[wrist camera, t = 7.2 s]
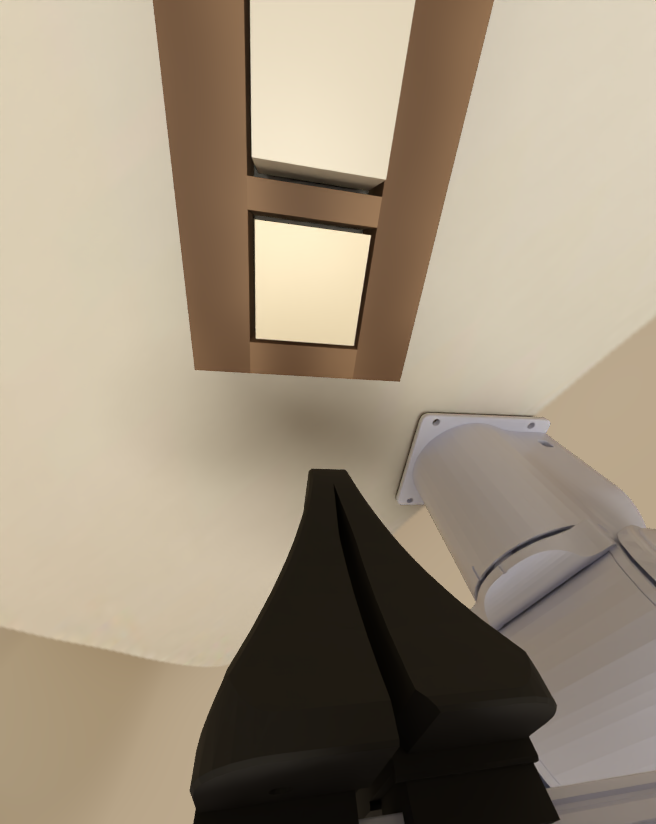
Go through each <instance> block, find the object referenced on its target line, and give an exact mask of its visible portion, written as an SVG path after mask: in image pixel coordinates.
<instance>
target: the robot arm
mask: <svg viewBox="0 0 656 824" xmlns="http://www.w3.org/2000/svg"><path fill="white" fill-rule="evenodd" d="M435 419H438V420H437V421H436V422H434V423H433V421H434V420H435ZM549 426H550V421H549V420H548V419H546V418H544V417H520V416H495V415H470V414H445V413H426V414H424V415H422V416H421V418H420V420H419V424H418V427H417V430H416V434H415V437H414V440H413V444H412V447H411V450H410V453H409V457H408V460H407V463H406V467H405V470H404V473H403V476H402V480H401V483H400V486H399V490H398V493H397V496H396V500H397V502H398V504H400V505H425V506H426V508H427V509H428V511H429V513H430V515H431V517H432V519H433V521H434V523H435V525H436V527H437V529H438V530H439V532H440V534H441V536H442V538H443V540H444V542H445V544H446V546H447V547H448V549H449V551H450V553H451V555H452V557H453V559H454V561H455V563H456V565H457V566H458V568H459V570H460V572H461V574H462V576H463V578H464V580H465V582H466V584H467V586H468V587H469V589H470V591H471V593H472V595H473V597H474V599H475V601H476V603H475V605H474V606H473V607H472V608H471V609H468V608H467V607H466V606H465V605H463V604H462V603H461V602H460V601H459V600H457V599H456V598H455V597H454V596H453V595H452V594H450V593H449V592H448V591H447V590H446V589H445V588H444V587H443V586H442V585H440V584H439V583H438V582H437V581H436V580H435V579H434V578H433V577H431V575H429V574H428V573H427V572H426V571H425V570H424V569H423V568H422V567H421V566H420V565H419V564H418V563H417V562H416V561H415V560H414V559H413V558H412V557H411V556H410V555H409V554H408V552H407V551H406V550H405V549H404V548H403V547H402V546H401V545H400V544H399V543H398V541H397V540H396V539H395V538H394V537H393V535H392V534H391V533H390V532H389V531H388V529H387V528H386V527H385V526H384V524H383V523H382V522H381V521H380V519H379V518H378V517H377V515H376V514H375V513H374V511H373V510H372V509H371V507H370V506H369V505H368V503H367V502H366V500H365V499H364V497H363V496H362V494H361V493H360V491H359V490H358V488H357V487H356V485H355V484H354V482H353V481H352V479H351V477H350V476H349V474H348V473H347V471H346V470H336V469H311V470H310V471H309V473H308V481H307V489H306V496H305V504H304V512H303V516H302V519H301V522H300V525H299V528H298V531H297V534H296V537H295V539H294V542H293V545H292V547H291V550H290V552H289V554H288V557H287V559H286V562H285V564H284V566H283V568H282V570H281V573H280V575H279V577H278V579H277V581H276V583H275V585H274V587H273V589H272V591H271V593H270V595H269V597H268V599H267V601H266V603H265V605H264V607H263V608H262V610H261V612H260V614H259V616H258V618H257V620H256V622H255V623H254V625H253V627H252V629H251V630H250V632H249V634H248V636H247V637H246V639H245V641H244V642H243V644H242V646H241V647H240V649H239V651H238V652H237V654H236V656H235V657H234V659H233V661H232V662H231V664H230V666H229V667H228V669H227V671H226V674H225V676H224V679H223V681H222V684H221V686H220V688H219V690H218V692H217V695H216V697H215V699H214V702H213V704H212V707H211V709H210V711H209V714H208V716H207V719H206V721H205V724H204V727H203V729H202V732H201V736H200V739H199V743H198V747H197V750H196V756H195V762H194V768H193V775H192V781H191V786H190V793H191V796H192V798H193V801H194V804H195V807H196V811H195V818H194V823H193V824H656V529H650V528H646V526H645V523H644V521H643V519H642V516H641V514H640V513H639V511H638V509H637V507H636V506H635V505H634V503H633V502H632V501H631V499H630V498H629V497H628V496H627V495H626V494H625V493H624V492H623V491H622V490H621V489H620V488H618V487H617V486H616V485H615V484H613V483H612V482H611V481H609V480H608V479H606V478H605V477H604V476H602V475H601V474H600V473H598V472H597V471H596V470H594V469H593V468H592V467H590V466H589V465H587V464H586V463H585V462H583V461H582V460H581V459H579V458H578V457H577V456H575V455H574V454H573V453H571V452H570V451H569V450H567V449H566V448H565V447H563V446H562V445H561V444H559V443H558V442H556V441H555V440H554V439H552V438H551V437H550V436H548V435H547V434H546V432H547V430H548V428H549ZM409 498H410V499H409Z"/></svg>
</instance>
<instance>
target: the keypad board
mask: <svg viewBox="0 0 656 824" xmlns="http://www.w3.org/2000/svg"><path fill="white" fill-rule="evenodd" d="M493 2H494V0H415V6H414V12H413V19H412V25H411V31H410V37H409V43H408V49H407V55H406V61H405V67H404V73H403V79H402V86H401V92H400V98H399V104H398V110H397V116H396V122H395V128H394V134H393V140H392V146H391V153H390V159H389V165H388V171H387V177H386V180H385V181H383V182H382V183H380V184H379V185H377V186H375V187H374V188H372V189H371V190H369V194H368V195H366V194H360V193H354V192H347V191H341V190H335V189H328V188H322V187H316V186H309V185H303V184H297V183H290V182H284V181H278V180H271V179H265V178H259V177H254V161H253V159H252V139H251V48H250V0H153V6H154V15H155V23H156V32H157V41H158V50H159V59H160V67H161V76H162V85H163V94H164V103H165V111H166V120H167V129H168V138H169V147H170V155H171V164H172V173H173V182H174V191H175V199H176V208H177V217H178V226H179V235H180V243H181V252H182V261H183V270H184V279H185V287H186V296H187V305H188V314H189V322H190V331H191V340H192V349H193V358H194V366H195V370H207V371H224V372H242V373H259V374H277V375H294V376H312V377H329V378H347V379H364V380H382V381H399V382H400V378H401V374H402V370H403V366H404V362H405V358H406V354H407V350H408V346H409V342H410V338H411V334H412V330H413V326H414V322H415V318H416V314H417V310H418V306H419V302H420V298H421V294H422V289H423V285H424V281H425V277H426V273H427V269H428V265H429V261H430V257H431V253H432V249H433V245H434V241H435V237H436V233H437V229H438V225H439V221H440V217H441V213H442V209H443V205H444V200H445V196H446V192H447V188H448V184H449V180H450V176H451V172H452V168H453V164H454V160H455V156H456V152H457V148H458V144H459V140H460V136H461V132H462V128H463V124H464V120H465V115H466V111H467V107H468V103H469V99H470V95H471V91H472V87H473V83H474V79H475V75H476V71H477V67H478V63H479V59H480V55H481V51H482V47H483V43H484V39H485V35H486V31H487V26H488V22H489V18H490V14H491V10H492V6H493ZM254 215H259V216H266V217H273V218H281V219H288V220H295V221H302V222H309V223H317V224H324V225H331V226H338V227H345V228H353V229H360V230H363V234H365V235H371V238H370V245H369V251H368V258H367V264H366V270H365V277H364V283H363V290H362V296H361V303H360V309H359V315H358V322H357V328H356V335H355V341H354V346H349V345H336V344H323V343H309V342H296V341H283V340H269V339H256V328H255V266H254Z"/></svg>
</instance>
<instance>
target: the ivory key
mask: <svg viewBox="0 0 656 824" xmlns="http://www.w3.org/2000/svg"><path fill="white" fill-rule="evenodd" d="M414 6H415V0H250V48H251V139H252V159H253V161H254V164H255V166H256V169H257V171H258V173H261V174H267V175H273V176H279V177H285V178H292V179H298V180H304V181H310V182H317V183H323V184H329V185H335V186H341V187H348V188H354V189H360V190H366V191H369V190H371V189H372V188H374V187H375V186H377V185H379V184H380V183H382V182H383V181H385V180H386V177H387V171H388V165H389V159H390V153H391V146H392V140H393V134H394V128H395V122H396V116H397V110H398V104H399V98H400V92H401V86H402V79H403V73H404V67H405V61H406V55H407V49H408V43H409V37H410V31H411V25H412V19H413V12H414Z"/></svg>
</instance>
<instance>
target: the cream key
mask: <svg viewBox="0 0 656 824" xmlns="http://www.w3.org/2000/svg"><path fill="white" fill-rule="evenodd" d="M370 238H371V235H365V234H358V233H351V232H343V231H336V230H329V229H321V228H314V227H307V226H299V225H292V224H285V223H277V222H270V221H263V220H255V303H256V339H269V340H283V341H296V342H309V343H323V344H336V345H349V346H354V341H355V335H356V328H357V322H358V315H359V309H360V303H361V296H362V290H363V283H364V277H365V270H366V264H367V258H368V251H369V245H370Z"/></svg>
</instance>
